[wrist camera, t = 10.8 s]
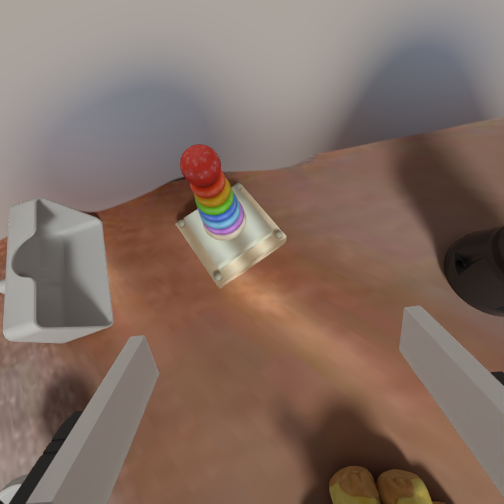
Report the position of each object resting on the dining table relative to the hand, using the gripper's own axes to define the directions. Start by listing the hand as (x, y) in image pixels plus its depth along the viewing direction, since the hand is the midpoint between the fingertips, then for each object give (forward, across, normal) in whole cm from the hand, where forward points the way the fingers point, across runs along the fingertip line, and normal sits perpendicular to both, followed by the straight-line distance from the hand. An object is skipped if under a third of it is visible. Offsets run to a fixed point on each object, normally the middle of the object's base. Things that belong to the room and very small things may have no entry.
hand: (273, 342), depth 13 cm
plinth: (+40, -6, -8) cm, 41 cm away
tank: (+36, -41, -12) cm, 56 cm away
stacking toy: (+36, -6, -4) cm, 37 cm away
